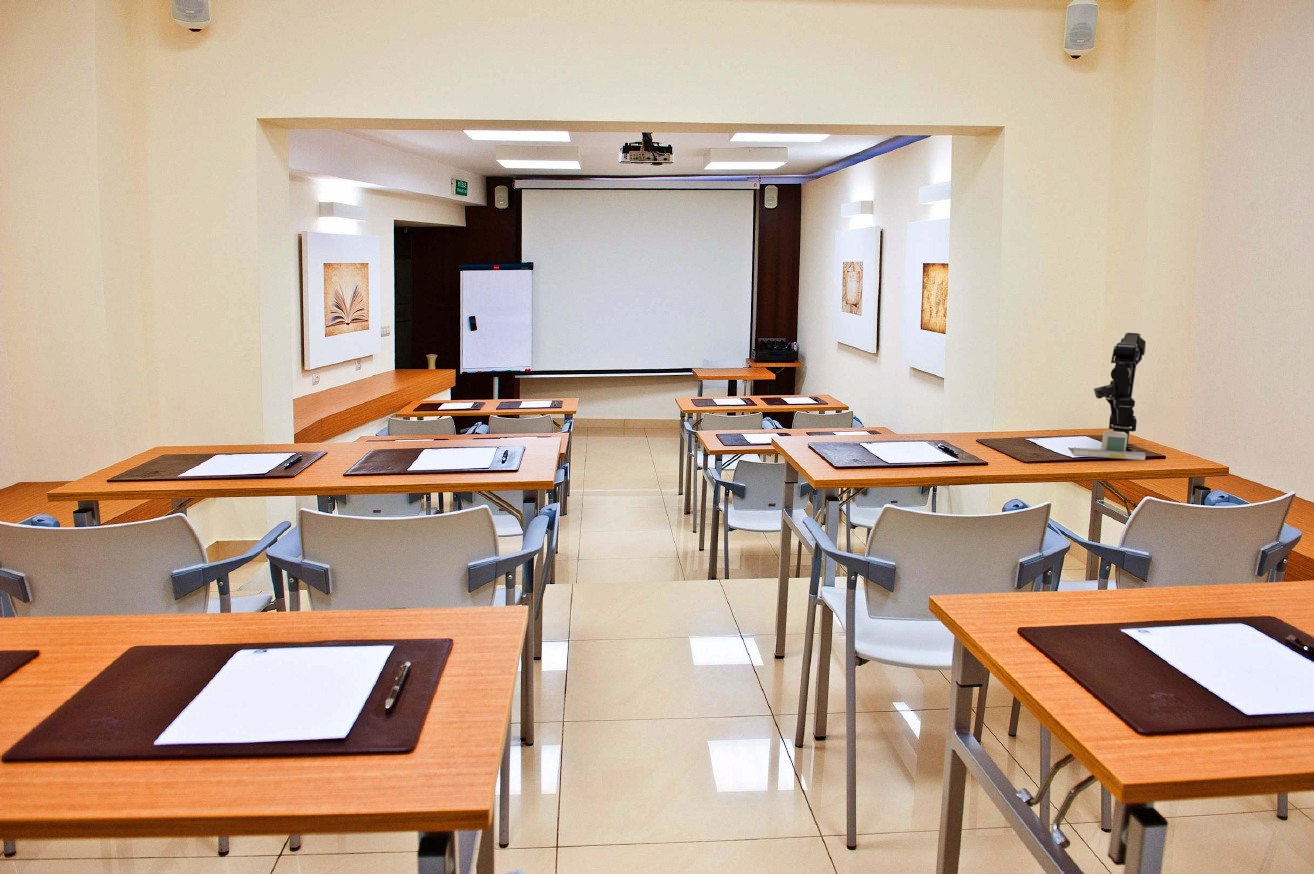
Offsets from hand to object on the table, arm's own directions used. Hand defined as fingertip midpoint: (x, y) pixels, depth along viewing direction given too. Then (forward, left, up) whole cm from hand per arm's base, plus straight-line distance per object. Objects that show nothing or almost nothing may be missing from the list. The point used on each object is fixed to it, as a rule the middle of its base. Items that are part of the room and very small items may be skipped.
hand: (1116, 421), depth 327 cm
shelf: (+1, -3, -13) cm, 13 cm away
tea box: (+1, 0, -12) cm, 12 cm away
